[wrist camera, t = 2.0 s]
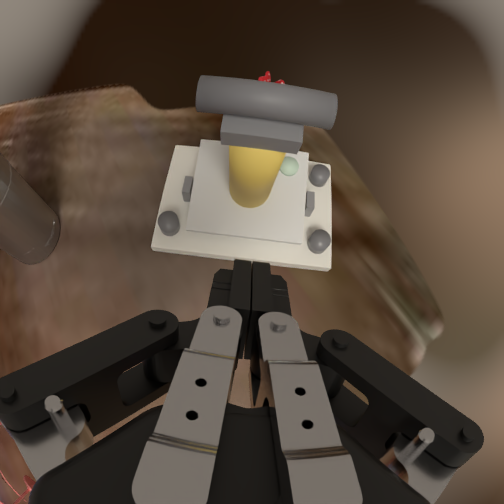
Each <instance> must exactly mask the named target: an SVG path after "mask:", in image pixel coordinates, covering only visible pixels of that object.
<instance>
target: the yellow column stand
mask: <svg viewBox="0 0 504 504" xmlns="http://www.w3.org/2000/svg"><path fill="white" fill-rule="evenodd" d="M337 105H338V101H337V96H336V94H333V93H328V92H323V91H319V90H313V89H308V88H303V87H297V86H291V85H285V84H279V83H272V82H265V81H257V80H249V79H240V78H228V77H218V76H203V75H202V76H201V77H200V79H199V82H198V87H197V93H196V110H197V112H206V113H218V114H223V120H222V125H221V131H220V135H221V141H215V140H204V139H201V143H200V148H199V153H198V159H197V164H196V170H195V175H194V181H193V187H192V193H191V199H190V205H189V211H188V218H187V224H186V231H188V232H197V233H205V234H214V235H222V236H230V237H239V238H247V239H255V240H264V241H272V242H280V243H288V244H296V245H301V244H302V240H303V228H304V216H305V203H306V189H307V174H308V157H309V153H306V152H300V151H299V149H300V147H301V145H302V143H303V125H307V126H313V127H318V128H323V129H328V130H330V129H331V128H332V126H333V124H334V121H335V118H336V113H337Z"/></svg>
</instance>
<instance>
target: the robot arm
mask: <svg viewBox="0 0 504 504" xmlns="http://www.w3.org/2000/svg"><path fill="white" fill-rule="evenodd" d="M59 233H60V223H59V219H58V217H57V215H56V213H55V212H54V211H53V210H52V209H51V208H50V207H49V206H48V205H47V204H46V203H45V202H44V200H43V199H42V198H41V197H40V196H39V195H38V194H37V193H36V192H35V191H34V190H33V189H32V188H31V187H30V186H29V184H28V183H27V182H26V181H25V180H24V179H23V178H22V177H21V176H20V175H19V173H18V172H17V171H16V170H15V169H14V168H13V167H12V166H11V164H10V163H9V162H8V161H7V160H6V159H5V158H4V156H3V155H2V154H1V153H0V249H2V250H3V251H5V252H6V253H8V254H9V255H11V256H13V257H14V258H16V259H18V260H20V261H21V262H23V263H25V264H36V263H39V262H41V261H43V260H44V259H45V258H46V257H48V256H49V255H50V253H51V252H52V251H53V249H54V247H55V246H56V244H57V241H58V238H59ZM244 345H245V350H244ZM243 351H244V359H250V370H249V376H248V377H249V390H250V402H251V408H243V407H240V406H236V405H233V404H230V403H229V401H230V395H231V390H232V384H233V379H234V373H235V370H236V368H237V364H238V358H239V359H242V358H243ZM141 362H142V363H141ZM139 363H140V364H139ZM137 364H139V365H137ZM135 365H137V366H135ZM133 366H135V367H133ZM131 367H133V368H131ZM130 368H131V369H130ZM128 369H129V370H128ZM126 370H128V371H126ZM124 371H126V372H124ZM123 372H124V373H123ZM345 380H347V381H348V382H349V383H350V384H352V385H353V386H354V387H355V388H357V389H358V390H359V391H360V392H362V393H363V394H364V395H365V396H366V397H367V399H368V402H369V405H367V404H366V403H365V402H363V401H362V400H361V399H360V398H358V397H357V396H356V395H355V394H353V393H352V392H351V391H350V390H348V389H347V388H346V387H345V386H343V383H344V381H345ZM167 392H168V394H167V397H166V399H165V402H164V405H160V406H157V407H154V408H151V409H149V410H147V411H145V412H143V413H142V414H140V415H139V416H137V417H136V418H134V419H133V420H131V421H130V422H128V423H127V424H125V425H123V426H122V427H120V428H119V429H117V430H116V431H114V432H113V433H111V434H109V435H108V436H106V437H105V438H103V439H102V440H100V441H98V442H97V443H95V444H93V437H94V436H96V435H98V434H99V433H101V432H103V431H105V430H106V429H108V428H110V427H111V426H113V425H115V424H117V423H118V422H120V421H122V420H123V419H125V418H127V417H128V416H130V415H132V414H133V413H135V412H137V411H138V410H140V409H142V408H143V407H145V406H146V405H148V404H150V403H151V402H153V401H154V400H156V399H158V398H159V397H161V396H162V395H164V394H166V393H167ZM0 421H1V423H2V425H3V426H4V428H5V429H6V430H7V432H8V433H9V434H10V436H11V437H12V438H13V439H14V441H15V442H16V444H17V446H18V448H19V450H20V452H21V454H22V456H23V458H24V460H25V462H26V463H27V465H28V467H29V469H30V470H31V472H32V474H33V476H34V477H35V479H36V481H37V482H36V483H35V484H34V486H33V488H32V490H31V493H30V496H29V503H28V504H434V503H435V501H436V500H437V499H438V497H439V496H440V494H441V493H442V491H443V490H444V488H445V487H446V485H447V484H448V482H449V480H450V479H451V478H452V476H453V474H454V473H455V472H456V471H457V470H458V469H459V468H460V467H461V466H462V465H464V464H465V463H466V462H467V461H468V460H469V459H470V458H471V457H472V456H473V455H474V454H475V453H477V452H478V451H479V450H480V449H481V447H482V445H483V442H484V436H483V433H482V430H481V429H480V427H479V426H478V425H477V424H476V423H475V422H474V421H472V420H471V419H469V418H468V417H466V416H465V415H463V414H462V413H461V412H459V411H458V410H456V409H455V408H454V407H452V406H451V405H449V404H448V403H447V402H445V401H443V400H442V399H441V398H439V397H438V396H437V395H435V394H434V393H432V392H431V391H430V390H428V389H427V388H425V387H424V386H422V385H421V384H420V383H418V382H417V381H415V380H414V379H413V378H411V377H410V376H408V375H407V374H406V373H404V372H403V371H401V370H400V369H399V368H397V367H396V366H394V365H393V364H392V363H390V362H389V361H387V360H386V359H385V358H383V357H382V356H380V355H379V354H378V353H376V352H375V351H373V350H372V349H371V348H369V347H368V346H366V345H365V344H364V343H362V342H361V341H359V340H358V339H357V338H355V337H354V336H352V335H351V334H349V333H347V332H345V331H342V330H328V331H325V332H324V333H323V334H322V335H321V338H320V337H317V336H313V335H310V334H307V333H305V332H303V331H301V330H300V329H299V326H298V323H297V321H296V320H295V319H294V318H293V317H292V315H291V308H290V302H289V295H288V289H287V283H286V281H285V280H284V279H283V278H282V277H281V276H279V275H271V272H270V263H266V262H257V261H253V262H252V268H251V261H249V260H240V259H235V260H234V267H233V270H228V269H220V270H219V271H218V272H216V273H215V274H214V279H213V283H212V288H211V292H210V297H209V301H208V306H207V309H205V310H204V311H203V313H202V315H201V317H200V318H198V319H196V320H192V321H186V322H178V319H177V317H176V316H175V315H174V314H172V313H170V312H168V311H164V310H151V311H147V312H145V313H143V314H140V315H138V316H136V317H134V318H132V319H130V320H127V321H125V322H123V323H121V324H119V325H117V326H114V327H112V328H110V329H108V330H106V331H103V332H101V333H99V334H97V335H95V336H93V337H90V338H88V339H86V340H84V341H82V342H79V343H77V344H75V345H73V346H71V347H68V348H66V349H64V350H62V351H60V352H57V353H55V354H53V355H51V356H49V357H46V358H44V359H42V360H40V361H37V362H35V363H33V364H31V365H29V366H26V367H24V368H22V369H20V370H17V371H15V372H13V373H11V374H8V375H6V376H4V377H2V378H0Z"/></svg>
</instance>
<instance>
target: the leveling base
mask: <svg viewBox="0 0 504 504" xmlns="http://www.w3.org/2000/svg"><path fill="white" fill-rule="evenodd" d="M199 148H200V147H193V146H180V145H176V146H175V150H174V153H173V157H172V160H171V164H170V168H169V172H168V175H167V179H166V183H165V187H164V191H163V195H162V199H161V203H160V208H159V212H158V216H157V221H156V225H155V230H154V234H153V239H152V244H151V248H152V250H153V251H159V252H167V253H175V254H184V255H192V256H200V257H208V258H216V259H225V260H233V261H234V260H235V259H240V260H249V261H251V263H252V262H253V261H257V262H266V263H270V265H275V266H284V267H293V268H301V269H310V270H319V271H329V270H330V269H331V171H330V165H329V164H323V163H317V162H312V161H308V174H307V189H306V203H305V216H304V228H303V240H302V244H301V245H296V244H288V243H280V242H272V241H264V240H255V239H247V238H239V237H230V236H222V235H214V234H205V233H197V232H188V231H186V224H187V218H188V211H189V205H190V199H191V193H192V187H193V181H194V175H195V170H196V164H197V159H198V153H199Z"/></svg>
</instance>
